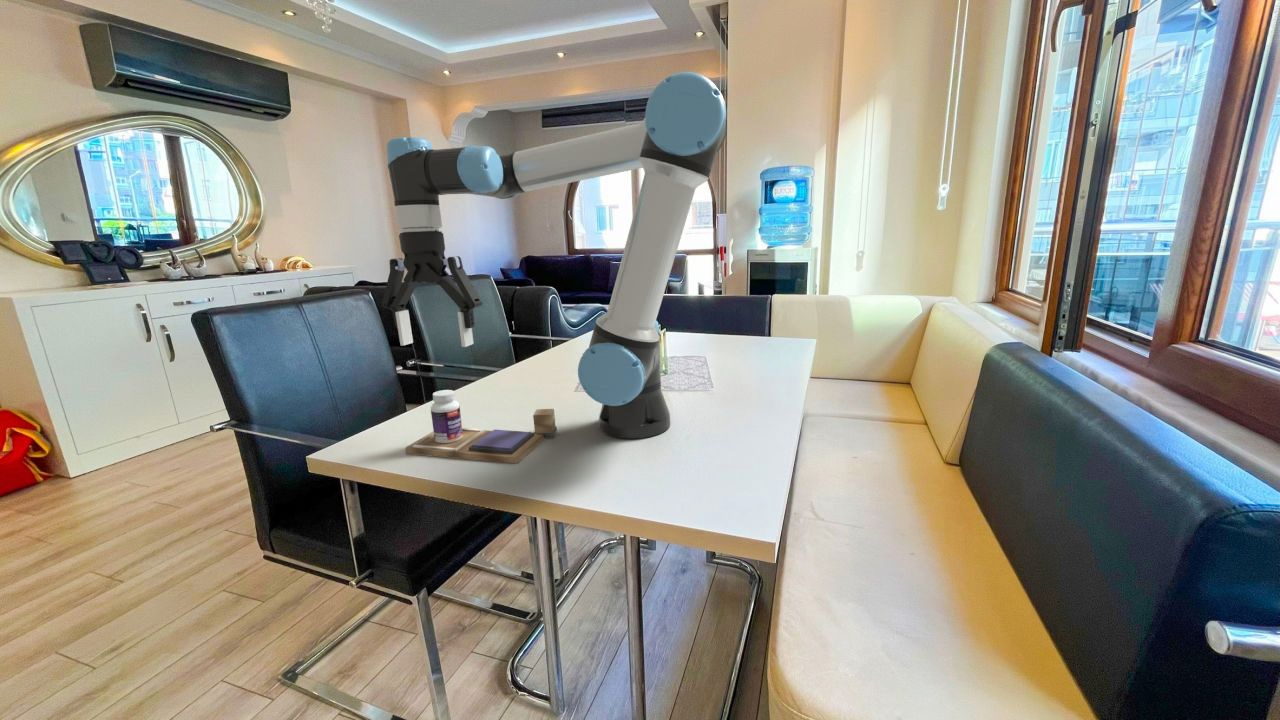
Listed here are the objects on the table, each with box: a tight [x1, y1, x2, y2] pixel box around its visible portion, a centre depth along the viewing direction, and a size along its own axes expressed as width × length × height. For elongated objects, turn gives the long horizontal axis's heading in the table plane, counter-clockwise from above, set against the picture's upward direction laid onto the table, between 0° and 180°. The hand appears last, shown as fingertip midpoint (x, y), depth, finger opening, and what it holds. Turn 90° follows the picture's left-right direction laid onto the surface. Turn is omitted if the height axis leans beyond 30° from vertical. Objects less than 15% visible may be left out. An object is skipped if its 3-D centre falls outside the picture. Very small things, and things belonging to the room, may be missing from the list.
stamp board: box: [404, 427, 545, 465], centre depth 102 cm, size 24×11×2 cm, turn 74°
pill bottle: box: [430, 389, 463, 443], centre depth 102 cm, size 5×5×10 cm
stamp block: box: [532, 408, 558, 439], centre depth 107 cm, size 4×4×5 cm
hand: (436, 345), depth 99 cm, fingers open, 13 cm apart
